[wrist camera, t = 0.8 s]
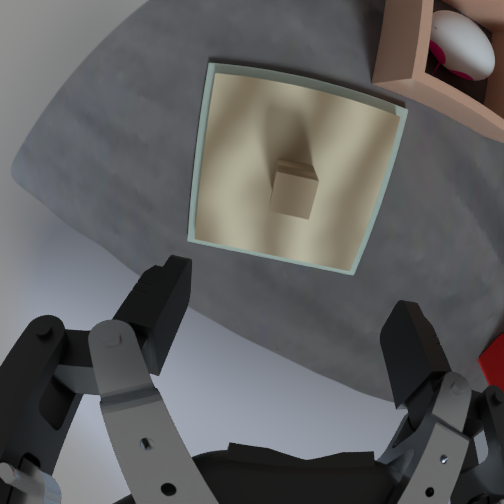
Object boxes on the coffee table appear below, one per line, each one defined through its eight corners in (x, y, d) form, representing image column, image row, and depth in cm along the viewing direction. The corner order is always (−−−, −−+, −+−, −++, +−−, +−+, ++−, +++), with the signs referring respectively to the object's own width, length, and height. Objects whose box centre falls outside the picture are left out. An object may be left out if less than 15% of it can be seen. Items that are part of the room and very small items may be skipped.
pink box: (497, 31, 13) (549, 26, 5) (482, 135, 20) (538, 157, 12) (388, -30, 13) (423, -67, 6) (371, 83, 20) (411, 78, 13)
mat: (405, 109, 21) (408, 109, 20) (352, 272, 30) (353, 275, 30) (210, 63, 21) (208, 62, 21) (189, 238, 30) (187, 241, 30)
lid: (396, 116, 21) (425, 122, 16) (348, 266, 29) (358, 302, 24) (218, 74, 21) (198, 67, 16) (197, 234, 29) (178, 266, 24)
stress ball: (398, 41, 20) (400, 59, 17) (438, -7, 13) (451, -1, 10) (452, 87, 21) (463, 115, 18) (494, 45, 14) (516, 67, 11)
